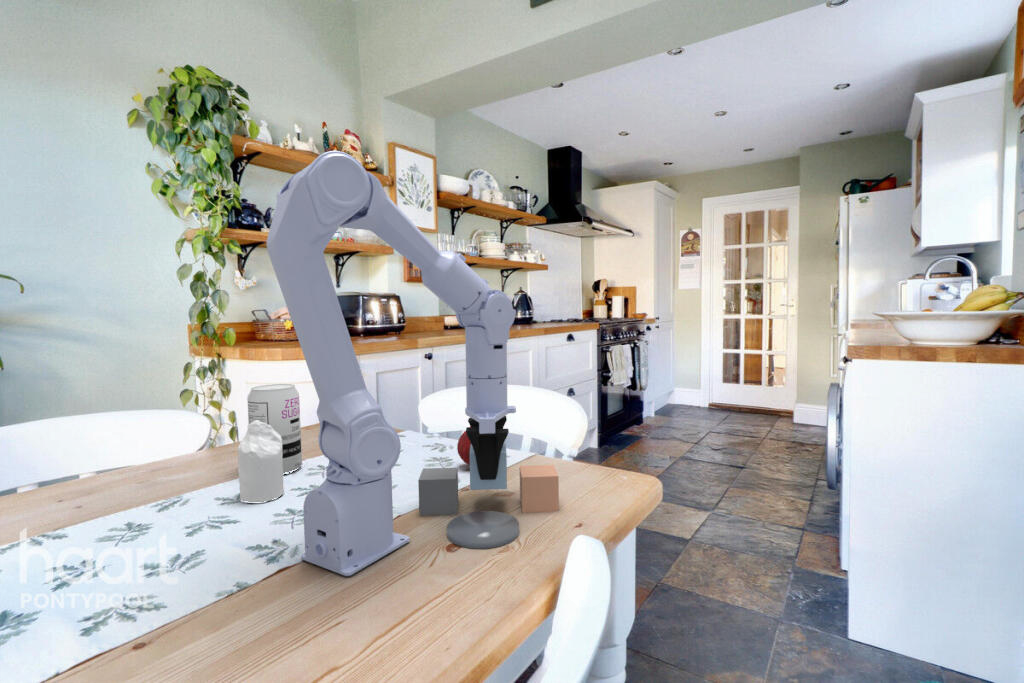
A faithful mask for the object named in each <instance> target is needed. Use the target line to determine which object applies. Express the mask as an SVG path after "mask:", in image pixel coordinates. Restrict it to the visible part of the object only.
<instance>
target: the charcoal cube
mask: <svg viewBox="0 0 1024 683" xmlns="http://www.w3.org/2000/svg"><path fill="white" fill-rule="evenodd" d="M458 470H459V468H458V467H433V468H429V467H427V468H422V470H421V473H420V476H419V478H418V479H417V480H418V481H417V482H418V484H417V485H418V510H419V512H418V513H419V514H418V515H419V517H420V516H421V517H423V516H424V517H425V516H443V515H444V516H447V515H449V516H450V515H457V512H458V506H459V475H458V474H459V471H458Z"/></svg>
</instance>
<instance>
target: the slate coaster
mask: <svg viewBox="0 0 1024 683" xmlns="http://www.w3.org/2000/svg"><path fill="white" fill-rule="evenodd" d="M519 535H520V522H519V520H518V519H517V518H516V517H515V516H513V515H510V514H508V513H506V512H501V511H496V510H495V511H494V510H479V511H471V512H467V513H463V514H460V515H458V516H456V517H454V518H452V519H451V520H449V522H448V524H447V526H446V536H447V539H448V540H449V541H450V542H451V543H453V544H454V545H457V546H459V547H462V548H468V549H476V550H486V549H493V548H498V547H503V546H505V545H507V544H510V543H512V542H513V541H514V540H515V539H517V538H518V537H519Z"/></svg>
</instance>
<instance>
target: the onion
mask: <svg viewBox="0 0 1024 683" xmlns="http://www.w3.org/2000/svg"><path fill="white" fill-rule="evenodd" d="M469 427H471V426H470V425H469ZM456 446H457V448H456V450H457V454H458V457H459V458H460V459H461V460H462V462H464V463H465V464H466V465H468V466H470V446H471V442H470V440H469V439H468V437H467V434H466V430H464V431H463V433H462V434H461V435H460V437H459V439H458V442H457V445H456Z"/></svg>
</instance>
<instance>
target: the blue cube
mask: <svg viewBox="0 0 1024 683" xmlns="http://www.w3.org/2000/svg"><path fill="white" fill-rule="evenodd" d="M507 454H508V453H507V447H506V443H505V442H504V444H503V447H502V450H501V454H500V459H499V466H498V472H497V476H496V479H495V480H481V479H480V476H479V472H478V467H477V462H476V457H475V453H474V450H473V447H472V444H471V446H470V465H469V491H480V490H484V491H488V490H507V489H508V475H507V474H508V472H507V471H508V470H507V468H508V466H507V465H508V463H507V462H508V458H507Z"/></svg>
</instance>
